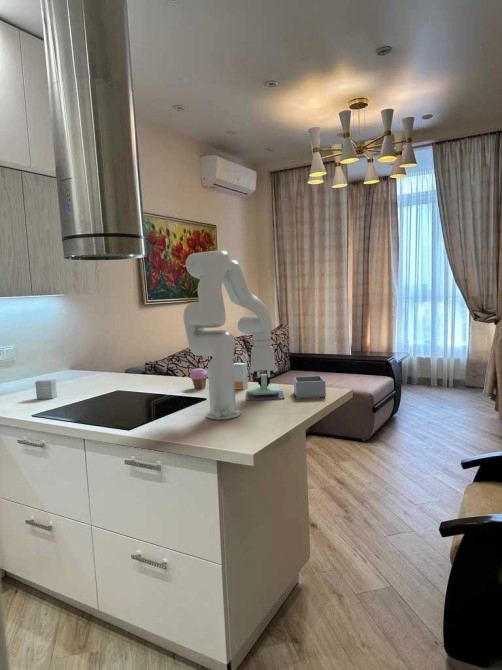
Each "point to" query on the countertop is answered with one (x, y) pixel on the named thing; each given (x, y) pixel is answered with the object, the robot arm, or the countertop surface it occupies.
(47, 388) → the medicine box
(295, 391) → the tub
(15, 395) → the countertop surface
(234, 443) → the countertop surface
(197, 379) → the cupcake
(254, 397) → the mat
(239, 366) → the skincare box
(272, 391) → the lid
